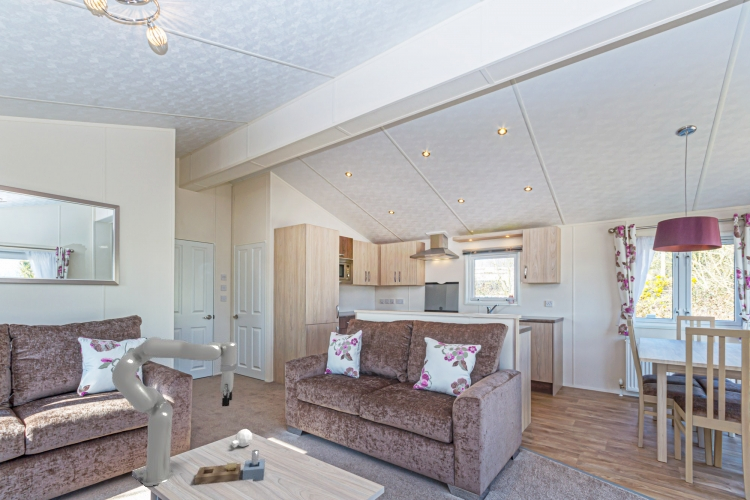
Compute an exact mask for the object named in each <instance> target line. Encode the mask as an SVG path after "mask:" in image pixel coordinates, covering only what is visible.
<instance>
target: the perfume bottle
mask: <svg viewBox="0 0 750 500" xmlns="http://www.w3.org/2000/svg"><path fill="white" fill-rule="evenodd" d="M252 441H253V433H252V432H251V430H249V429H247V428H243V429H241V430H239V431H238V432H237V433H236V434H235V439H234V440H233V441H231V447H233V448H237V447H238V446H239V447H241V448H245V447H247V446H248V445H249V444H251V443H252Z"/></svg>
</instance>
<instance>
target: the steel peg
mask: <svg viewBox="0 0 750 500" xmlns="http://www.w3.org/2000/svg"><path fill="white" fill-rule="evenodd" d="M259 453H260V451H259V449H253V450H251V460H252V463H251V467H258V460H259V455H260V454H259Z"/></svg>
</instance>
